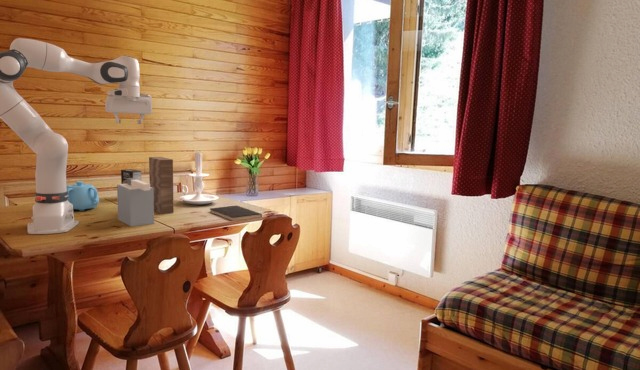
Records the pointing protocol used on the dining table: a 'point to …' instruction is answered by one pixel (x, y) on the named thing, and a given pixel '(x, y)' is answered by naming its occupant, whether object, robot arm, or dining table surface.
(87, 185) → the decorative pot
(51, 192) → the robot arm
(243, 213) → the hardcover book
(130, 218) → the paper box
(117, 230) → the dining table surface
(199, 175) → the candlestick
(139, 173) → the coffee box
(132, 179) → the marker
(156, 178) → the walnut stand
